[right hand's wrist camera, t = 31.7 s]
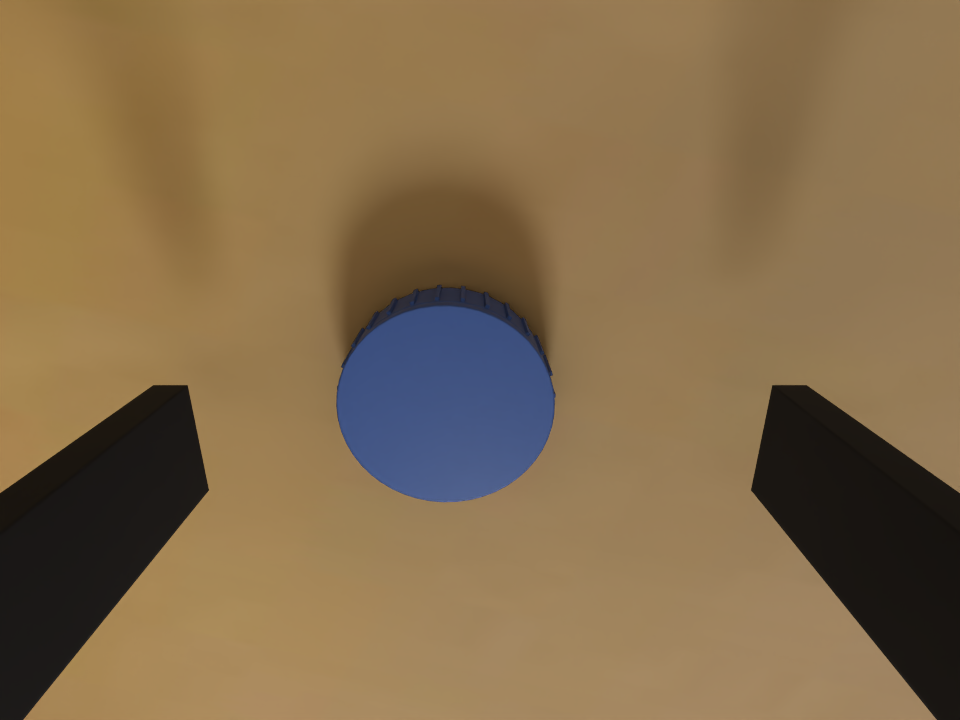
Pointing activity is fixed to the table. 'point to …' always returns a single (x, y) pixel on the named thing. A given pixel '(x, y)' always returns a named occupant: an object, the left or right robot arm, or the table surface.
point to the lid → (446, 395)
